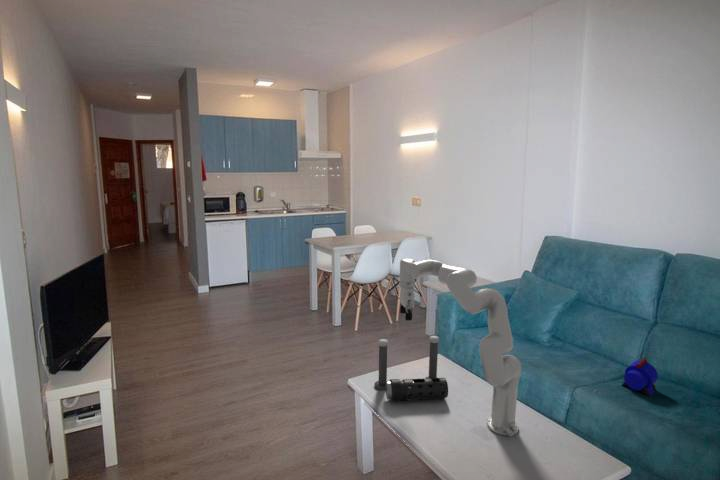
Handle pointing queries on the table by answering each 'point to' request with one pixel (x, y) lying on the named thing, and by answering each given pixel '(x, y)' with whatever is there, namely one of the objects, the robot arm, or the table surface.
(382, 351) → the cord post
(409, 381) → the muzzle brake
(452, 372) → the table surface
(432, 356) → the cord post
